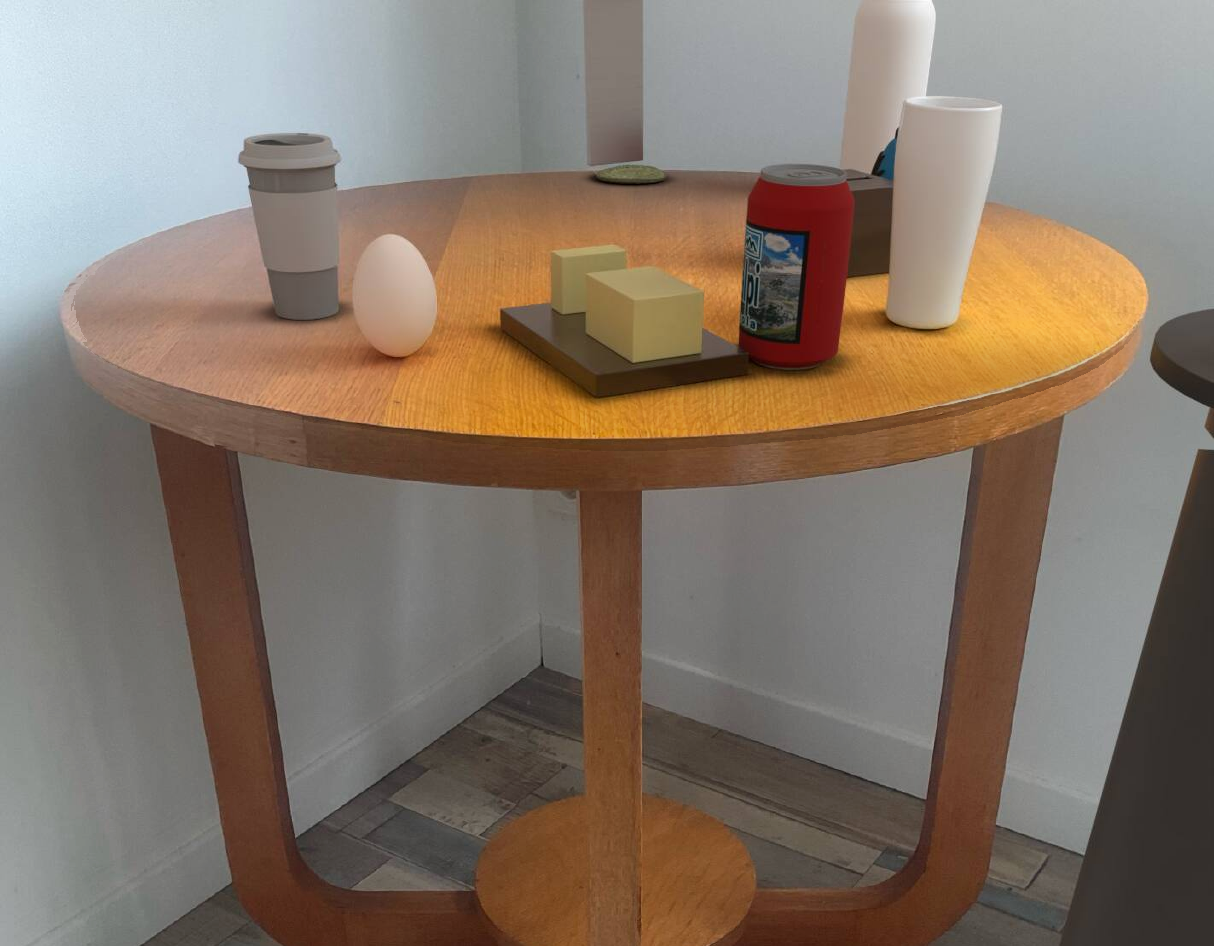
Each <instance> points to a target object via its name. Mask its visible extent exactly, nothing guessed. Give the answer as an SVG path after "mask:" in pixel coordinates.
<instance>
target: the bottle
mask: <svg viewBox="0 0 1214 946" xmlns="http://www.w3.org/2000/svg"><path fill="white" fill-rule="evenodd" d="M936 15H937V14H936V9H935V5H934V3H933V0H862V1H861V2H860V4H859V6H858V8H857V11H856V14H855V19H854V25H853V36H852V44H851V54H850V64H849V71H848V72H849V73H848V82H847V93H846V101H845V109H844V110H845V111H844V120H843V131H842V140H841V150H840V158H839V167H838V169H841V170H845V169H853V170H856V171H860V172H864V173H867V174H871V172H872V169H873V167H874V164H875V162H876V160H877V158H878V155H879V153H880V152H881V151H884V150H885V148H886V147H887V145H888V144H889V142H890V141H891V140H893V139H894V138H895V133H896V129H897V128H898V127H899V123H900V118H901V112H902V107H903V102H904V100H906V99H908V98H913V97H924V96H927V90H928V83H929V77H930V76H929V75H930V68H931V62H932V54H933V53H932V52H933V48H934V47H933V46H934V39H935V31H936V23H937V22H936V21H937V16H936Z"/></svg>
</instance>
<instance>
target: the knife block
mask: <svg viewBox="0 0 1214 946" xmlns="http://www.w3.org/2000/svg"><path fill="white" fill-rule="evenodd" d="M844 171H845V172H846V180H847V182H848V185H849V187H850V190H851V193H852V195H853V198H854V201H855V204H854V214H853V224H852V234H851V244H850V253H849V262H848V271H847V278H853V277H861V276H862V277H863V276H868V275H869V276H871V275H878V274H886V273H889V264H890V244H891V223H892V200H893V180H889V179H885V178H882V177H878V176H874V175H871V174H867V173H864V172H860V171H856V170H853V169H845V170H844Z"/></svg>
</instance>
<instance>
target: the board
mask: <svg viewBox="0 0 1214 946" xmlns="http://www.w3.org/2000/svg"><path fill="white" fill-rule="evenodd" d="M499 316H500V320H499V321H500V330H502V331H503V332H505V334H507V335H509V336H511V337H512V338H513V339H514V340H516V341H517V342H518V343H520V344H521V345H522V346H523V347H525V348H526V349H528V350H529V351H531V352H532V353H534V354H535V355H536V356H538V357H539V358H541V359H542V360H543V361H545V362H546V363H548V364H549V365H550V366H552V367H553V368H554V369H556V370H557V371H558V372H559V373H561V374H563V375H564V376H565V377H566V378H568V379H570V380H571V381H573V382H574V383H575V384H577V385H578V386H579V387H581V388H582V389H583V390H585V391H586V392H587V393H589V394H591V395H592V396H593V397H595V398H604V397H609V396H617V395H622V394H629V393H635V392H636V393H637V392H641V391H643V392H644V391H648V390H649V391H650V390H654V389H655V390H656V389H661V388H668V387H675V386H681V385H688V384H693V383H701V382H706V381H707V382H708V381H714V380H720V379H727V378H733V377H739V376H745V375H748V373H749V363H750V357H749V352H747V351H746V350H744V349H742V348H740V347H739V345H737V344H734V343H732V342H731V341H729V340H727V339H725V338H723V337H721V336H719V335H717V334H716V333H713V332H712V331H710V330H709V329H706V328H705V327H703V329H702V349H701V353H699V354H692V355H685V356H678V357H672V358H665V359H658V360H651V361H644V362H637V363H632V362H630V361H629V360H627V359H626V358H624V357H622V356H621V355H619V354H618V353H616V352H615V351H613V350H611V349H610V348H608V347H607V346H605V345H604V344H602V343H600V342H599V341H597V340H596V339H594V338H593V337H591V336H589V335H588V334H586V312H580V313H572V314H564V315H562V314H561V313H559V312H557V311H556V310H554V309H553V308H551V302H543V303H534V304H526V305H519V306H518V305H517V306H510V307H502V308H501V307H500V309H499Z"/></svg>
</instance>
